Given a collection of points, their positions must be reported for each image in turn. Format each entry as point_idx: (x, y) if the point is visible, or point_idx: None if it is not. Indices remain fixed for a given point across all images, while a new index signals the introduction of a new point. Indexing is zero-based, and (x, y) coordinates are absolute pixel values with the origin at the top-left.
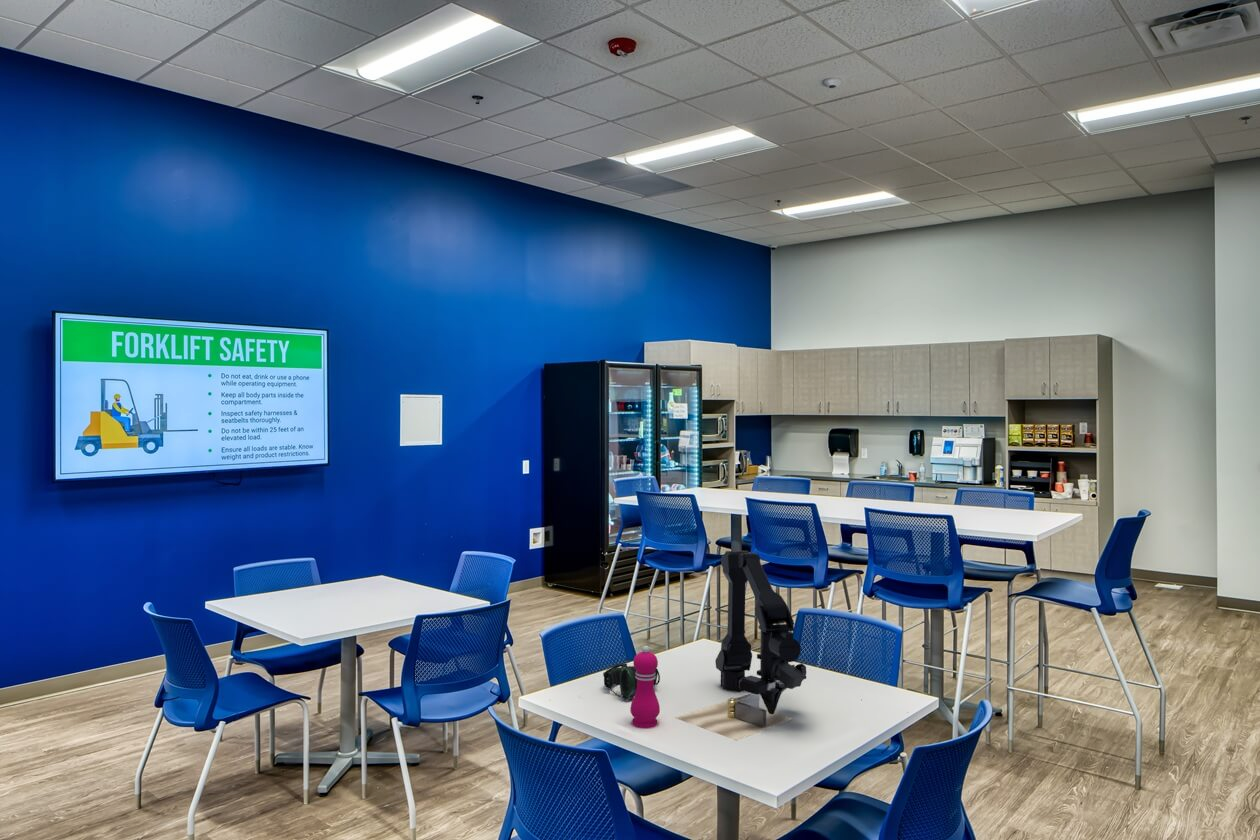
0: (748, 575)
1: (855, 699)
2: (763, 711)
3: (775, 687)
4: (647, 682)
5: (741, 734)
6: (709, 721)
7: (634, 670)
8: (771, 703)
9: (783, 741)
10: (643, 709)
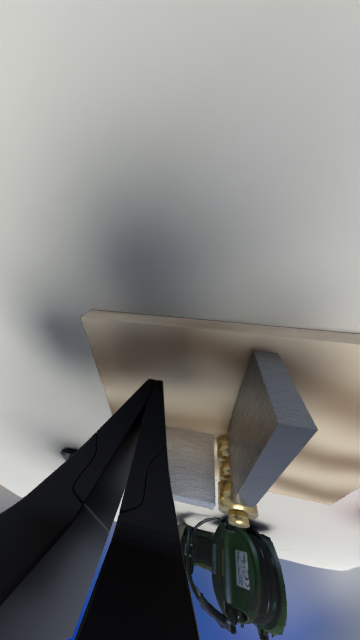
0: None
1: None
2: (312, 429)
3: (37, 619)
4: None
5: None
6: (313, 465)
7: (264, 622)
8: (166, 441)
9: (350, 190)
10: None
